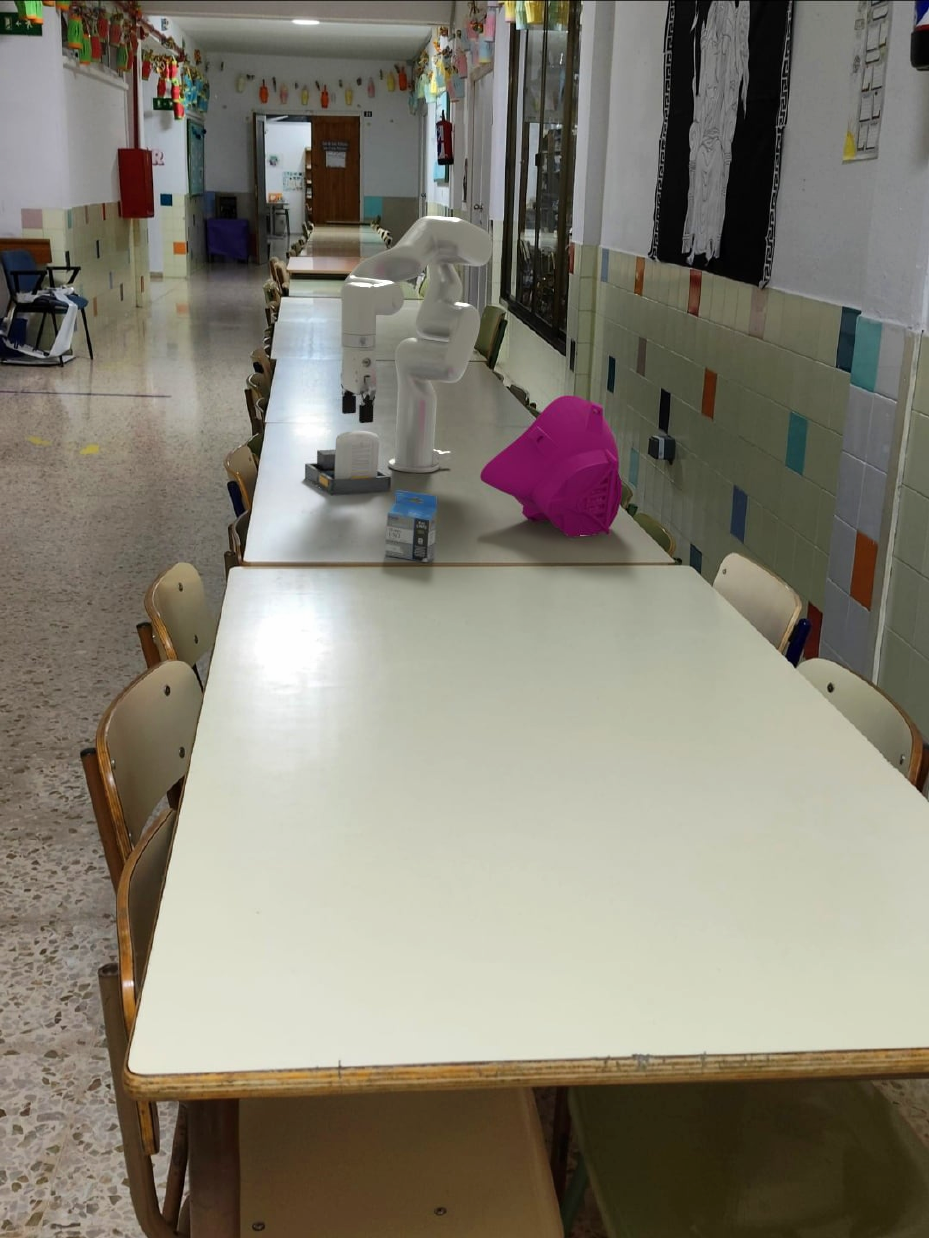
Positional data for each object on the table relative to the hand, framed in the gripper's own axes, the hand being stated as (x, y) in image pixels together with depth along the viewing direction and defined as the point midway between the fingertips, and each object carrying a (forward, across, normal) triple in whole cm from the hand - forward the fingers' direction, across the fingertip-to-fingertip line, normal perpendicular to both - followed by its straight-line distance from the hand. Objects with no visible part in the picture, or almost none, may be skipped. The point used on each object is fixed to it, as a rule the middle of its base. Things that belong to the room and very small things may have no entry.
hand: (357, 417), depth 272 cm
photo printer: (+16, 0, 0) cm, 16 cm away
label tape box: (+15, -52, +11) cm, 55 cm away
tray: (+16, +3, +1) cm, 17 cm away
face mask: (+17, -42, -28) cm, 53 cm away
